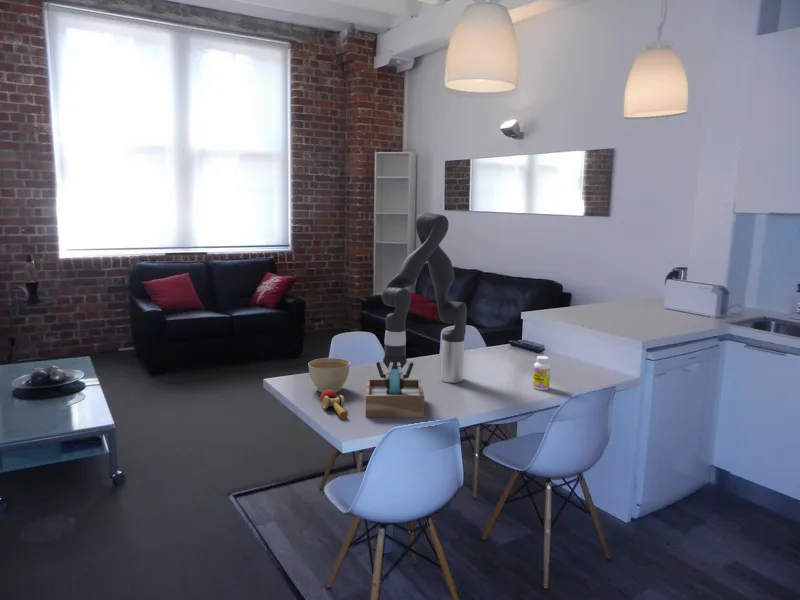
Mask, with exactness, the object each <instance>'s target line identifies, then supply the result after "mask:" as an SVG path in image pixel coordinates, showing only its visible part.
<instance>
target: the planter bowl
mask: <svg viewBox="0 0 800 600" xmlns="http://www.w3.org/2000/svg"><path fill="white" fill-rule="evenodd" d="M307 364H308V365H307V367H308V371H309V376H310V380H311V382H312V383H313V384H314V386H315V387H316V390H317V392H320V393H323V392H324V391H325V390H333V391H334V392H335V393H338V392H340V391H342V389H343V386H344V384H345V383H346V381H347V379H348V376H349V374H350V373H349V372H350V366H351V362H350V361H349V360H347V359H344V358H338V357H324V358H323V357H322V358H317V359H313V360H311V361H309V362H308V363H307Z"/></svg>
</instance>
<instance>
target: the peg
mask: <svg viewBox="0 0 800 600" xmlns="http://www.w3.org/2000/svg"><path fill="white" fill-rule="evenodd" d="M389 371H390V370H389ZM389 395H400V374H399V370H398V369H391V373H390V376H389Z"/></svg>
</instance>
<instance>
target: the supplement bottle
mask: <svg viewBox="0 0 800 600" xmlns="http://www.w3.org/2000/svg"><path fill="white" fill-rule="evenodd" d="M549 361H550V357H548V356H546V355H538V356H536V362H535V363H534V364H533V375H532V388H533V389H535V390H539V391H546V390H549V389H550V379H551V368H552V367H551V366H552V365H551V364H550V362H549Z"/></svg>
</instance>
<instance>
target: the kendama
mask: <svg viewBox="0 0 800 600" xmlns="http://www.w3.org/2000/svg"><path fill="white" fill-rule="evenodd" d="M319 397H320V402H321V406H322V408H323V409H328V408H329V407H333V409H334V410H335V411H336V413H337V415H338V417H339V419H341V420H345V419H347V417H348V416H349V415H348V411H346V410H345V409H344V406H345V397H344V395H340V394H339V395H337V392H334V391H333V390H325V391H324V392H321V394H320V396H319Z"/></svg>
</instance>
